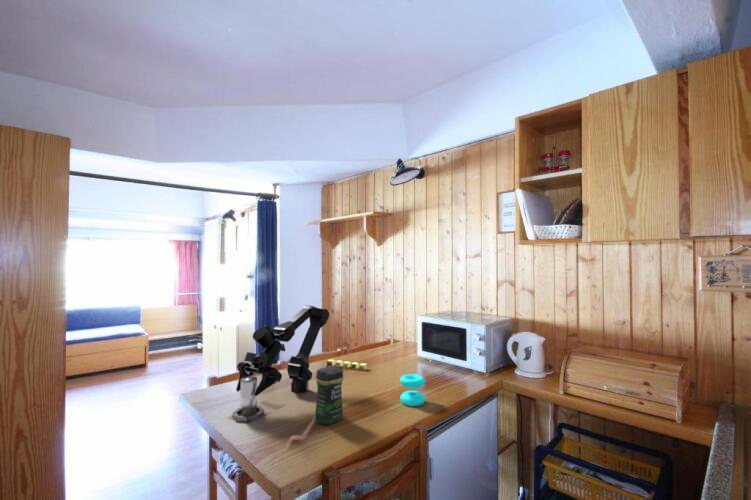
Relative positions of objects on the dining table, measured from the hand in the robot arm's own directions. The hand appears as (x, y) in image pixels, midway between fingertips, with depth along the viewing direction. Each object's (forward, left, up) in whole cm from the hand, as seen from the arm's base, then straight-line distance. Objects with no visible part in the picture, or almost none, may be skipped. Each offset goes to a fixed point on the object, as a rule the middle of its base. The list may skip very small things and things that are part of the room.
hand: (245, 393), depth 123 cm
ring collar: (0, -1, -8) cm, 8 cm away
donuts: (-60, -21, -10) cm, 64 cm away
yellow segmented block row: (-26, -63, -10) cm, 69 cm away
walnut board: (-2, -5, -9) cm, 11 cm away
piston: (-1, -1, -8) cm, 8 cm away
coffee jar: (-30, -3, -10) cm, 31 cm away
